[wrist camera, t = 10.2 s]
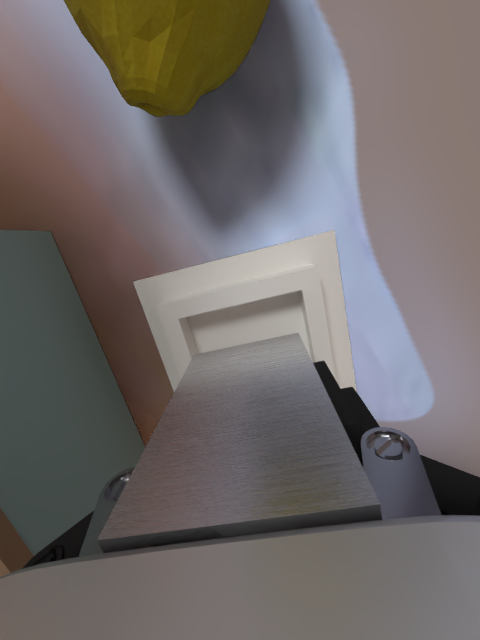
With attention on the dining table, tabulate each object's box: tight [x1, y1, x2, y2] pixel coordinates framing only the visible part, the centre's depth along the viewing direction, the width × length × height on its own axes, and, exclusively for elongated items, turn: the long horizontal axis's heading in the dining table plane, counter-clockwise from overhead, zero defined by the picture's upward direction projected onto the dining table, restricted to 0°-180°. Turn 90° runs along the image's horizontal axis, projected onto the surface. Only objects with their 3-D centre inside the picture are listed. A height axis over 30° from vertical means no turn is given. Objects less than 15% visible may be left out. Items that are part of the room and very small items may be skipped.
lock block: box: [97, 333, 382, 553], centre depth 9 cm, size 5×5×8 cm
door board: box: [0, 230, 145, 577], centre depth 14 cm, size 20×2×10 cm, turn 14°
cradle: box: [133, 230, 357, 392], centre depth 16 cm, size 12×12×2 cm
